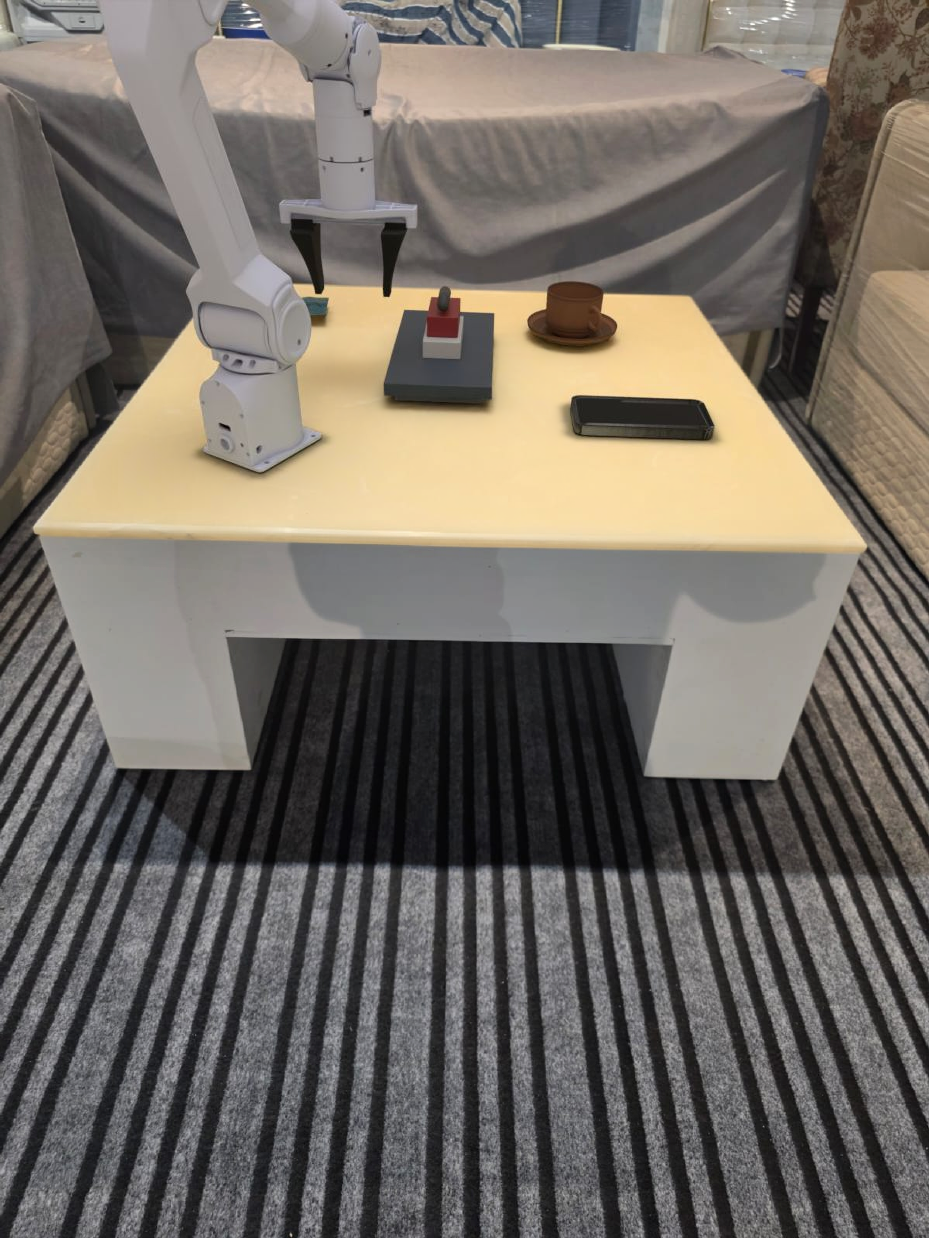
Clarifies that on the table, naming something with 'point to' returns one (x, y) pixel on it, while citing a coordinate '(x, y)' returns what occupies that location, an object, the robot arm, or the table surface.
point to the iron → (443, 327)
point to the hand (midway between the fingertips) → (353, 293)
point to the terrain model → (316, 305)
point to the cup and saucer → (573, 315)
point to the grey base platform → (442, 363)
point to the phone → (641, 417)
